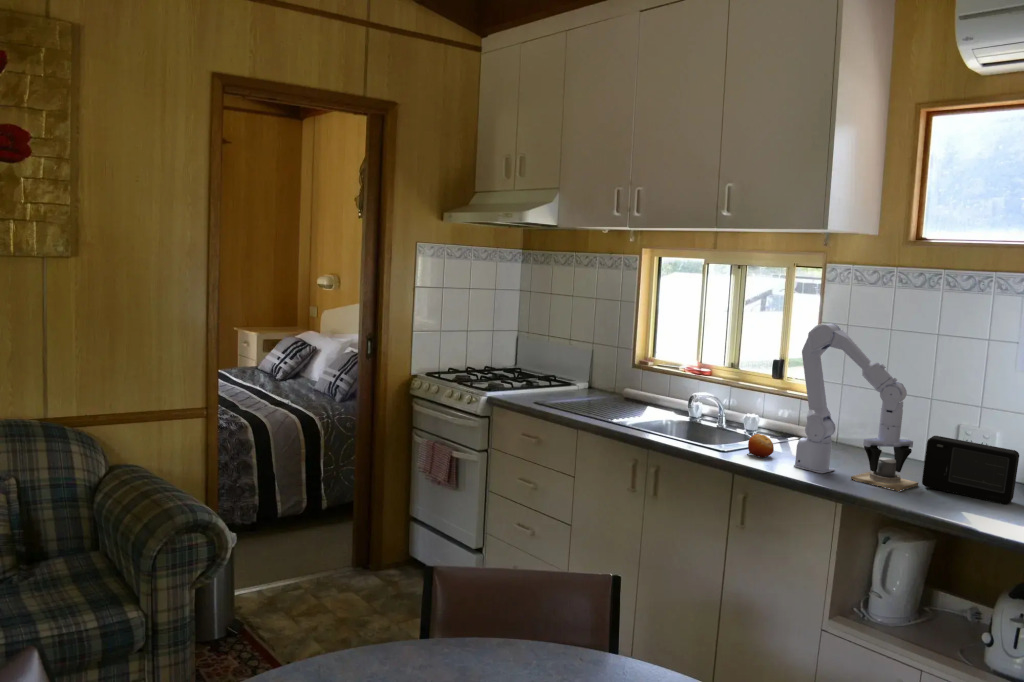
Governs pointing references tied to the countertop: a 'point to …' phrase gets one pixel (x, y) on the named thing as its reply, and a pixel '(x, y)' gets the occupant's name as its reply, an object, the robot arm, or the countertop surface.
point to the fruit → (760, 446)
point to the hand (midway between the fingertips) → (885, 471)
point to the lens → (886, 467)
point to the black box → (970, 469)
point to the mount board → (885, 481)
